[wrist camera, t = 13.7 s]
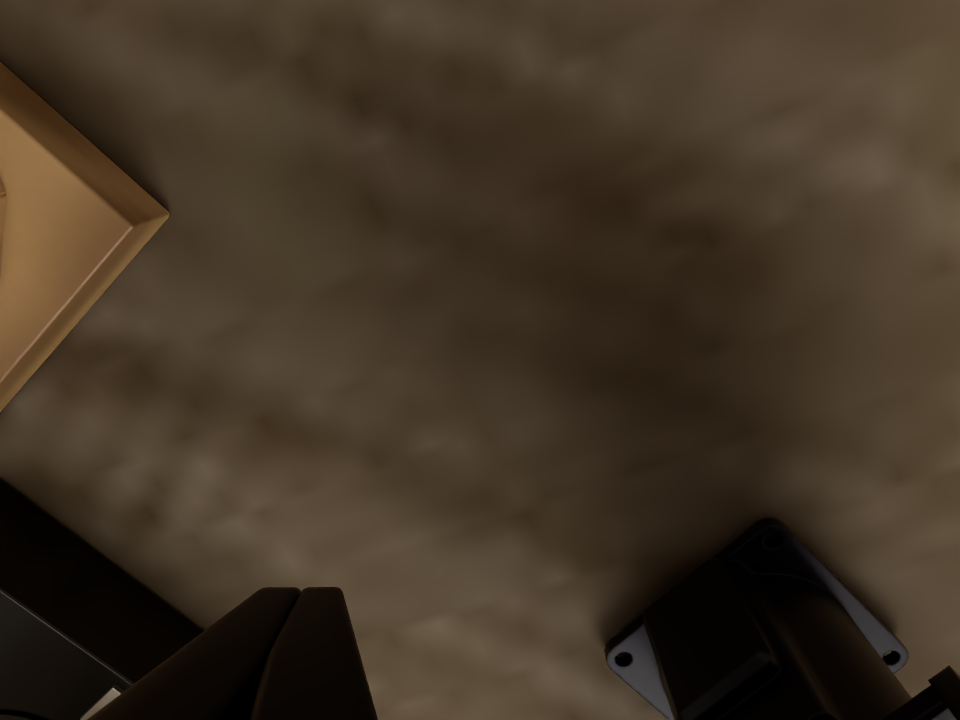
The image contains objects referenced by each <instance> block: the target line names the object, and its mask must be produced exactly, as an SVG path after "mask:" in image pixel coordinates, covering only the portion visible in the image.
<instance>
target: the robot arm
mask: <svg viewBox="0 0 960 720" xmlns="http://www.w3.org/2000/svg"><path fill="white" fill-rule="evenodd" d="M771 533H777V536H776V537H775V538H774V539H773V540H771V541H764V540H765V538H766V537H767V535H769V534H771ZM889 651H892V652H891V653H890V654H888V655H886V656H884V655H885V653H887V652H889ZM604 652H605V657H606V661H607V665H608V666H609V668H610V669H611V670H612V671H613V672H614V673H615V674H617V675H618V676H619V677H620V678H621V679H622V680H623V681H625V682H626V683H627V684H628V685H629V686H630V687H632V688H633V689H634V690H635V691H636V692H637V693H639V694H640V695H641V696H642V697H643V698H644V699H645V700H647V701H648V702H649V703H650V704H651V705H652V706H654V707H655V708H656V709H657V710H658V711H659V712H660V713H662V714H663V715H664V716H665V717H666V718H667V719H669V720H960V676H959V675H958V674H957V673H956V672H955V671H954V670H953V669H952V668H951V667H950V666H948V667H946V668H945V669H943V670H942V671H941V672H939V673H938V674H936V675H935V676H933V677H932V678H931V679H929V680H928V681H929V682H930V684H931V685H930V686H929V687H928V688H926V689H925V690H923V691H922V692H920V693H919V694H918V695H916V696H915V697H913V698H911V697H910V695H909V694H908V693H907V691H906V690H905V689H904V687H903V686H902V685H901V683H900V682H899V681H898V679H897V678H896V677H895V675H894V673H895V672H897V671H898V670H899V669H901V668H902V667H903V666H904V665H905V664H906V663H907V660H908V651H907V649H906V648H905V647H904V645H903V644H902V643H901V642H900V640H899V639H898V638H897V637H896V636H895V635H894V634H893V633H892V632H891V631H890V630H889V629H888V628H887V627H886V626H885V625H884V624H883V623H882V622H881V621H880V620H879V619H878V618H877V617H876V616H875V615H874V614H873V613H872V612H871V611H870V610H869V609H868V608H867V607H866V606H865V605H864V604H863V603H862V602H861V601H860V600H859V599H858V598H857V597H856V596H855V595H854V594H853V593H852V592H851V591H850V590H849V589H848V588H847V587H846V586H845V585H844V584H843V583H842V582H841V581H840V580H839V579H838V578H837V577H836V576H835V575H834V574H833V573H832V572H831V571H830V570H829V569H828V568H827V567H826V566H825V565H824V564H823V563H822V562H821V561H820V560H819V559H818V558H817V557H816V556H815V555H814V554H813V553H812V552H811V551H810V550H809V549H808V548H807V547H806V546H805V545H804V544H803V543H802V542H801V541H800V540H799V539H798V538H797V537H796V535H795V534H794V533H793V532H792V531H791V530H790V529H789V528H788V527H787V526H786V525H785V524H784V523H783V522H781V521H780V520H778V519H775V518H765V519H762V520H760V521H758V522H757V523H755V524H754V525H753V526H752V527H750V528H749V529H748V530H747V531H745V532H744V533H743V534H742V535H740V536H739V537H738V538H737V539H735V540H734V541H733V542H732V543H730V544H729V545H728V546H727V547H725V548H724V549H723V550H722V551H720V552H719V553H718V554H717V555H715V556H714V557H713V558H712V559H710V560H707V561H706V562H704V563H703V564H702V565H701V566H699V567H698V568H697V569H696V570H694V571H693V572H692V573H691V574H689V575H688V576H687V577H686V578H684V579H683V580H682V581H681V582H679V583H678V584H677V585H676V586H674V587H673V588H672V589H671V590H669V591H668V592H667V593H666V594H664V595H663V596H662V597H661V598H659V599H658V600H657V601H656V602H654V603H653V604H652V605H651V606H649V607H648V608H647V609H646V610H645V611H644V613H643V614H642V615H641V616H639V617H638V618H637V619H636V620H634V621H633V622H632V623H631V624H629V625H628V626H627V627H626V628H624V629H623V630H622V631H621V632H619V633H618V634H617V635H616V636H614V637H613V638H612V639H611V640H610V641H609V642H608V643H607V644H606V646H605V649H604ZM621 652H627V653H628V655H627V656H624V657H617V654H619V653H621ZM87 720H378V719H377V715H376V711H375V708H374V704H373V701H372V697H371V693H370V690H369V686H368V682H367V679H366V675H365V671H364V668H363V664H362V660H361V657H360V653H359V650H358V646H357V642H356V639H355V635H354V631H353V628H352V624H351V620H350V617H349V613H348V610H347V606H346V602H345V599H344V595H343V592H342V590H341V589H340V588H338V587H308V588H305V589H303V590H302V592H301V591H300V590H299V589H298V588H295V587H269V588H262V589H260V590H259V591H257V592H256V593H254V594H253V595H252V596H250V597H249V598H248V599H246V600H245V601H244V602H242V603H241V604H240V605H238V606H237V607H236V608H234V609H233V610H232V611H230V612H229V613H228V614H226V615H225V616H224V617H222V618H221V619H220V620H218V621H217V622H216V623H214V624H213V625H212V626H210V627H209V628H208V629H206V630H205V631H204V632H202V633H201V634H200V635H198V636H197V637H196V638H194V639H193V640H192V641H190V642H189V643H188V644H186V645H185V646H184V647H182V648H181V649H180V650H179V651H177V652H176V653H175V654H173V655H172V656H171V657H169V658H168V659H167V660H165V661H164V662H163V663H161V664H160V665H159V666H157V667H156V668H155V669H153V670H152V671H151V672H149V673H148V674H147V675H145V676H144V677H143V678H141V679H140V680H139V681H137V682H136V683H135V684H133V685H132V686H131V687H129V688H128V689H127V690H125V691H124V692H123V693H121V694H120V695H119V696H117V697H116V698H115V699H113V700H112V701H111V702H109V703H108V704H107V705H105V706H104V707H103V708H102V709H100V710H99V711H98V712H96V713H95V714H94V715H92V716H91V717H90V718H88V719H87Z"/></svg>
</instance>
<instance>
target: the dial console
mask: <svg viewBox="0 0 960 720" xmlns="http://www.w3.org/2000/svg"><path fill="white" fill-rule="evenodd" d="M202 632H203V631H202V630H201V629H199V628H198V627H197V626H195V625H194V624H193V623H191V622H190V621H188V620H187V619H186V618H184V617H183V616H182V615H180V614H179V613H178V612H176V611H175V610H174V609H172V608H171V607H170V606H168V605H167V604H166V603H164V602H163V601H162V600H160V599H159V598H158V597H156V596H155V595H154V594H152V593H151V592H150V591H148V590H147V589H146V588H144V587H143V586H142V585H140V584H139V583H138V582H136V581H135V580H134V579H132V578H131V577H130V576H128V575H127V574H126V573H124V572H123V571H122V570H120V569H119V568H118V567H116V566H115V565H114V564H112V563H111V562H110V561H108V560H107V559H106V558H104V557H103V556H102V555H100V554H99V553H98V552H96V551H95V550H94V549H92V548H91V547H90V546H88V545H87V544H86V543H84V542H83V541H82V540H80V539H79V538H78V537H76V536H75V535H74V534H72V533H71V532H70V531H68V530H67V529H66V528H64V527H63V526H62V525H60V524H59V523H58V522H56V521H55V520H54V519H52V518H51V517H50V516H48V515H47V514H46V513H44V512H43V511H42V510H40V509H39V508H38V507H36V506H35V505H34V504H32V503H31V502H30V501H28V500H27V499H26V498H24V497H23V496H22V495H20V494H19V493H18V492H16V491H15V490H14V489H12V488H11V487H10V486H8V485H7V484H6V483H4V482H3V481H2V480H0V714H6V715H14V716H20V717H25V718H29V719H33V720H87V719H88V718H90V717H91V716H92V715H94V714H95V713H96V712H98V711H99V710H100V709H102V708H103V707H104V706H105V705H107V704H108V703H109V702H111V701H112V700H113V699H115V698H116V697H117V696H119V695H120V694H121V693H123V692H124V691H125V690H127V689H128V688H129V687H131V686H132V685H133V684H135V683H136V682H137V681H139V680H140V679H141V678H143V677H144V676H145V675H147V674H148V673H149V672H151V671H152V670H153V669H155V668H156V667H157V666H159V665H160V664H161V663H163V662H164V661H165V660H167V659H168V658H169V657H171V656H172V655H173V654H175V653H176V652H177V651H179V650H180V649H181V648H182V647H184V646H185V645H186V644H188V643H189V642H190V641H192V640H193V639H194V638H196V637H197V636H198V635H200V634H201V633H202Z"/></svg>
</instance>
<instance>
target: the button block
mask: <svg viewBox="0 0 960 720" xmlns="http://www.w3.org/2000/svg"><path fill="white" fill-rule="evenodd" d="M169 216H170V213H169V212H168V211H167V210H166V209H165V208H164V207H163V206H161V205H160V204H159V203H158V202H157V201H156V200H155V199H154V198H152V197H151V196H150V195H149V194H148V193H147V192H146V191H145V190H144V189H142V188H141V187H140V186H139V185H138V184H137V183H136V182H135V181H133V180H132V179H131V178H130V177H129V176H128V175H127V174H126V173H124V172H123V171H122V170H121V169H120V168H119V167H118V166H117V165H116V164H114V163H113V162H112V161H111V160H110V159H109V158H108V157H107V156H105V155H104V154H103V153H102V152H101V151H100V150H99V149H98V148H96V147H95V146H94V145H93V144H92V143H91V142H90V141H89V140H88V139H86V138H85V137H84V136H83V135H82V134H81V133H80V132H79V131H77V130H76V129H75V128H74V127H73V126H72V125H71V124H70V123H68V122H67V121H66V120H65V119H64V118H63V117H62V116H61V115H60V114H58V113H57V112H56V111H55V110H54V109H53V108H52V107H51V106H49V105H48V104H47V103H46V102H45V101H44V100H43V99H42V98H40V97H39V96H38V95H37V94H36V93H35V92H34V91H33V90H32V89H30V88H29V87H28V86H27V85H26V84H25V83H24V82H23V81H21V80H20V79H19V78H18V77H17V76H16V75H15V74H14V73H12V72H11V71H10V70H9V69H8V68H7V67H6V66H5V65H4V64H2V63H1V62H0V412H1V411H2V410H3V409H4V407H5V406H6V405H7V404H8V403H9V402H10V400H11V399H12V398H13V397H14V396H15V395H16V394H17V392H18V391H19V390H20V389H21V388H22V387H23V385H24V384H25V383H26V382H27V381H28V380H29V378H30V377H31V376H32V375H33V374H34V373H35V372H36V370H37V369H38V368H39V367H40V366H41V365H42V363H43V362H44V361H45V360H46V359H47V358H48V356H49V355H50V354H51V353H52V352H53V351H54V350H55V348H56V347H57V346H58V345H59V344H60V343H61V341H62V340H63V339H64V338H65V337H66V336H67V335H68V333H69V332H70V331H71V330H72V329H73V328H74V326H75V325H76V324H77V323H78V322H79V321H80V319H81V318H82V317H83V316H84V315H85V314H86V313H87V311H88V310H89V309H90V308H91V307H92V306H93V304H94V303H95V302H96V301H97V300H98V299H99V297H100V296H101V295H102V294H103V293H104V292H105V291H106V289H107V288H108V287H109V286H110V285H111V284H112V282H113V281H114V280H115V279H116V278H117V277H118V275H119V274H120V273H121V272H122V271H123V270H124V269H125V267H126V266H127V265H128V264H129V263H130V262H131V260H132V259H133V258H134V257H135V256H136V255H137V254H138V252H139V251H140V250H141V249H142V248H143V247H144V245H145V244H146V243H147V242H148V241H149V240H150V238H151V237H152V236H153V235H154V234H155V233H156V232H157V230H158V229H159V228H160V227H161V226H162V225H163V223H164V222H165V221H166V220H167V219H168V218H169Z"/></svg>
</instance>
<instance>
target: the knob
mask: <svg viewBox="0 0 960 720" xmlns="http://www.w3.org/2000/svg"><path fill="white" fill-rule="evenodd" d="M0 720H33V719H29V718H25V717H20V716H14V715H6V714H0Z"/></svg>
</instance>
